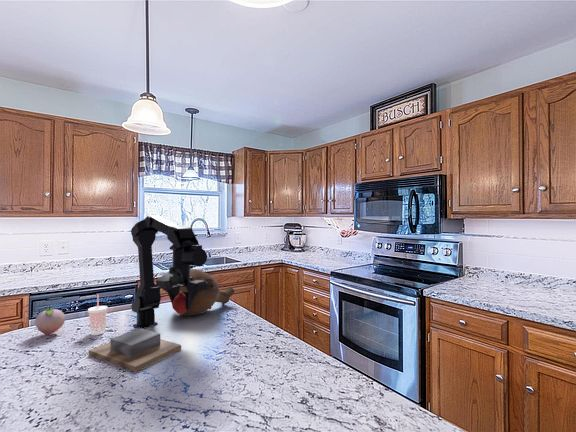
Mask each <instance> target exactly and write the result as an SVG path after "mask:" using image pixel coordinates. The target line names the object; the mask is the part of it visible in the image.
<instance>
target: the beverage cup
mask: <svg viewBox="0 0 576 432" xmlns="http://www.w3.org/2000/svg"><path fill="white" fill-rule="evenodd" d="M96 297H97V298H96V302H97V303H96V305H95V306H93V307H89V308H88V309H87V312H88V319H89V320H88V322H89V333H90V335H91V336H97V335H98V336H99V335H102V334H104V333H106V324H107V311H108V306H107V305H99V304H100V303H99V302H100V300H99V299H100V295H99V294H98V293H97V295H96Z"/></svg>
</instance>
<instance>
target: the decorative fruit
mask: <svg viewBox="0 0 576 432" xmlns="http://www.w3.org/2000/svg"><path fill="white" fill-rule="evenodd" d="M34 321H35V322H34V323H35V327H36V329H37V330H38V331H39V332H40V333H42V334H44V335H46V336H51V335H53V333H55V332H57V331H59V329H60V330H61V328H62V327H63V326H64V323H65V321H66V315H65V313H64V312H63V311H62V310H59V309H55V308H51V307H50V306H49V307H48V308H46V309H45V310H43V311H41V312H40V313H39V314H37V316H36V318H35V320H34Z"/></svg>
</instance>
